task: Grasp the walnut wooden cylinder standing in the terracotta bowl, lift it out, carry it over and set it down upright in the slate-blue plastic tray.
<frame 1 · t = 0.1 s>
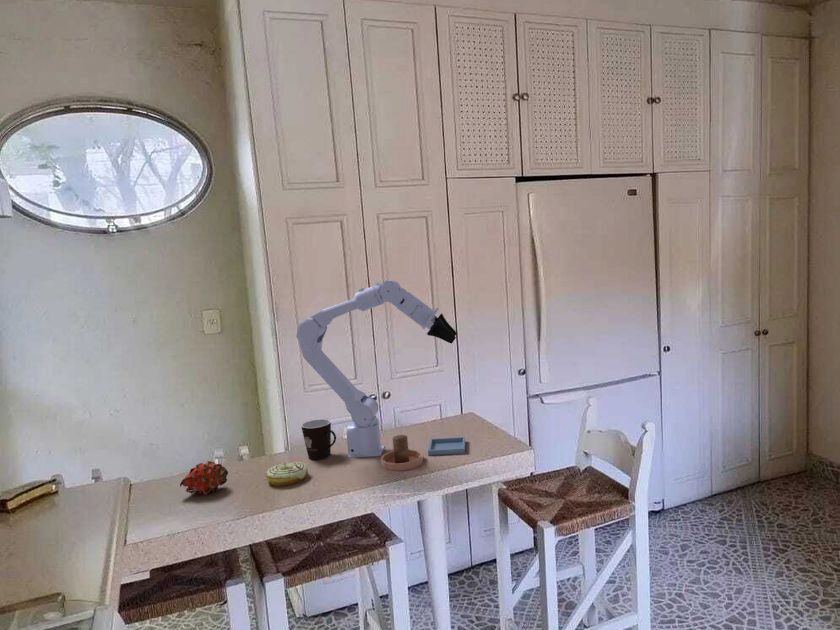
hand: (454, 338, 162), 32 cm above the bar counter, tool tilted 50°, fingers open, 7 cm apart
dragon fruit: (206, 493, 150), on the bar counter
terracotta bowl: (402, 463, 158), on the bar counter
decorated donut: (288, 480, 154), on the bar counter
coffee mug: (321, 458, 168), on the bar counter
slate tray: (447, 449, 165), on the bar counter
walnut cylinder: (402, 462, 158), resting on terracotta bowl
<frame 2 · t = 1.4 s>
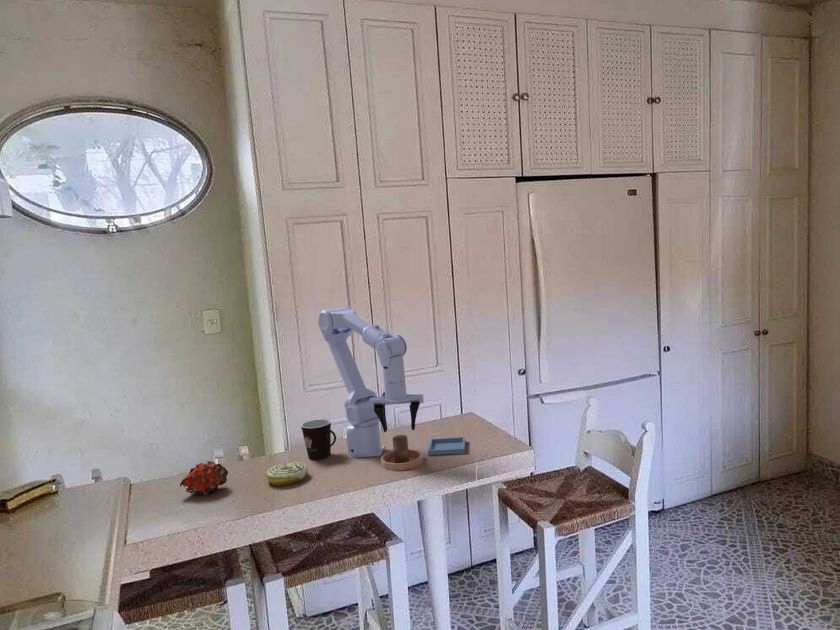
hand: (399, 429, 157), 9 cm above the bar counter, tool pointing down, fingers open, 7 cm apart
nothing on the bar counter moved.
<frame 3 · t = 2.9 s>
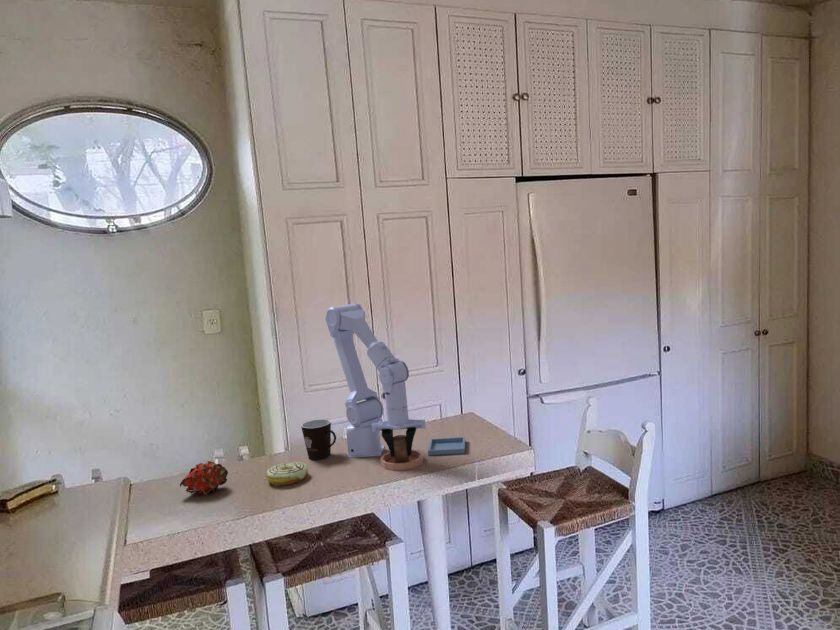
hand: (401, 455, 157), 2 cm above the bar counter, tool pointing down, fingers closed on walnut cylinder, 4 cm apart
walnut cylinder: (402, 462, 158), resting on terracotta bowl, touching gripper
everything else where it was.
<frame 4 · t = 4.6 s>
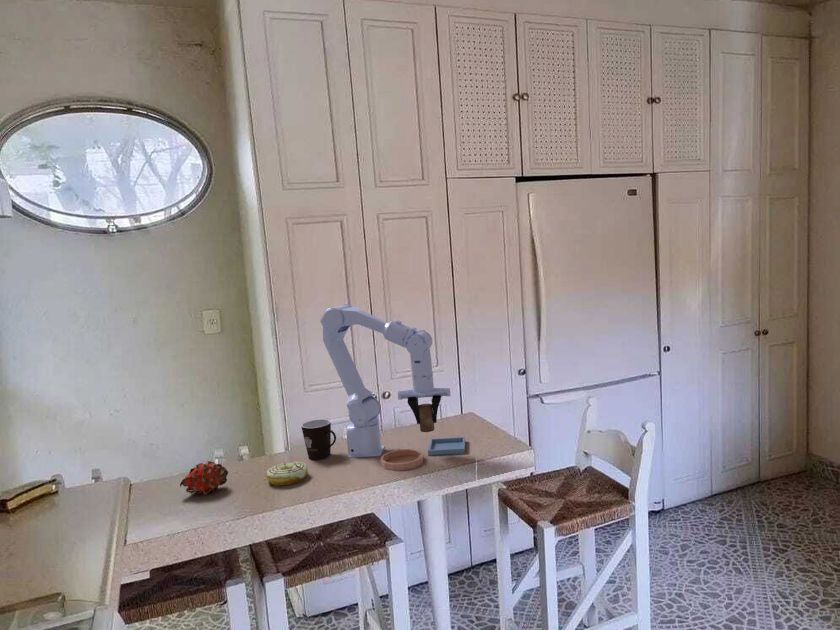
hand: (426, 422, 161), 9 cm above the bar counter, tool pointing down, fingers closed on walnut cylinder, 4 cm apart
walnut cylinder: (427, 429, 161), point 7 cm above the bar counter, touching gripper
everything else where it was.
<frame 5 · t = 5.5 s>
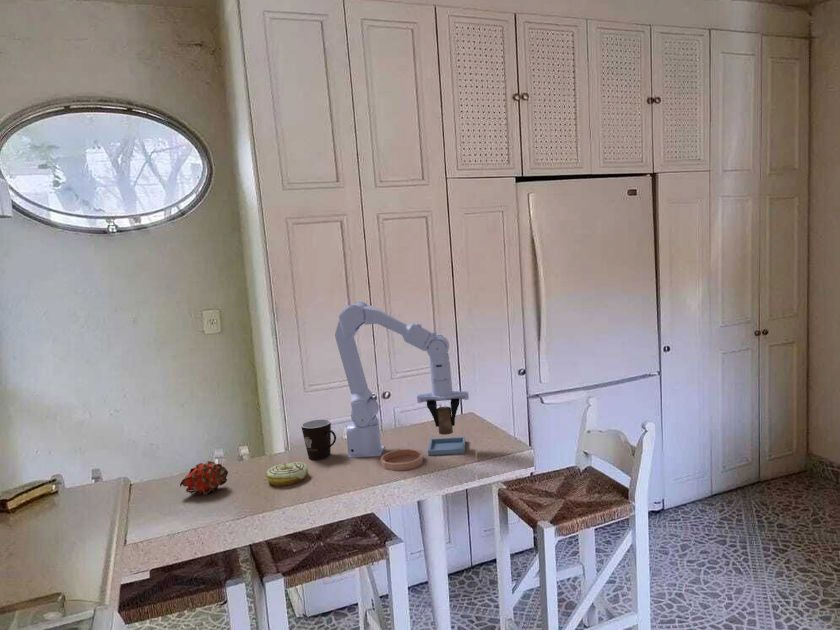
hand: (445, 425, 165), 7 cm above the bar counter, tool pointing down, fingers closed on walnut cylinder, 4 cm apart
walnut cylinder: (445, 432, 165), point 5 cm above the bar counter, touching gripper
everything else where it was.
when the fingers open (4 cm above the bar counter, at t = 6.5 s): walnut cylinder drops 1 cm, resting on slate tray.
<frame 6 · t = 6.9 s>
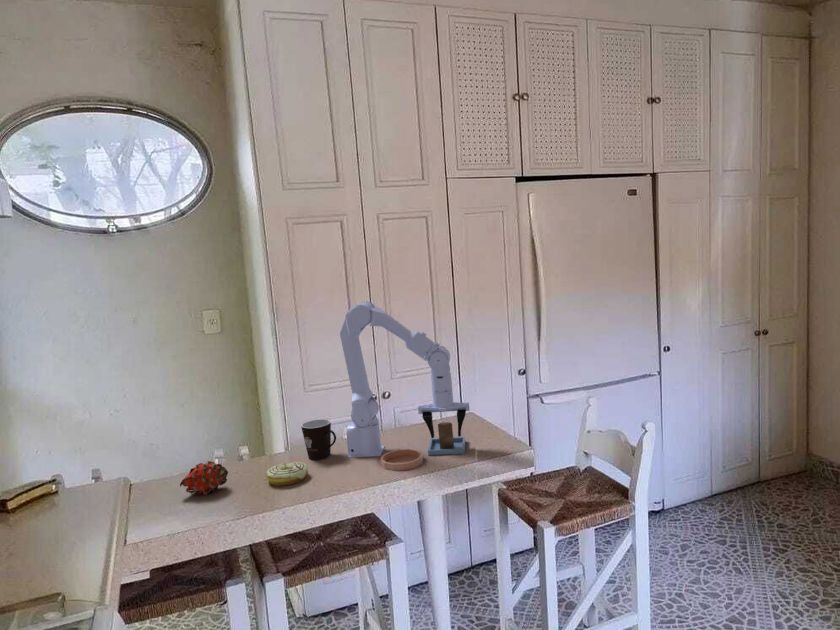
hand: (446, 436, 165), 4 cm above the bar counter, tool pointing down, fingers open, 7 cm apart
walnut cylinder: (447, 448, 165), point 1 cm above the bar counter, touching slate tray
everything else where it was.
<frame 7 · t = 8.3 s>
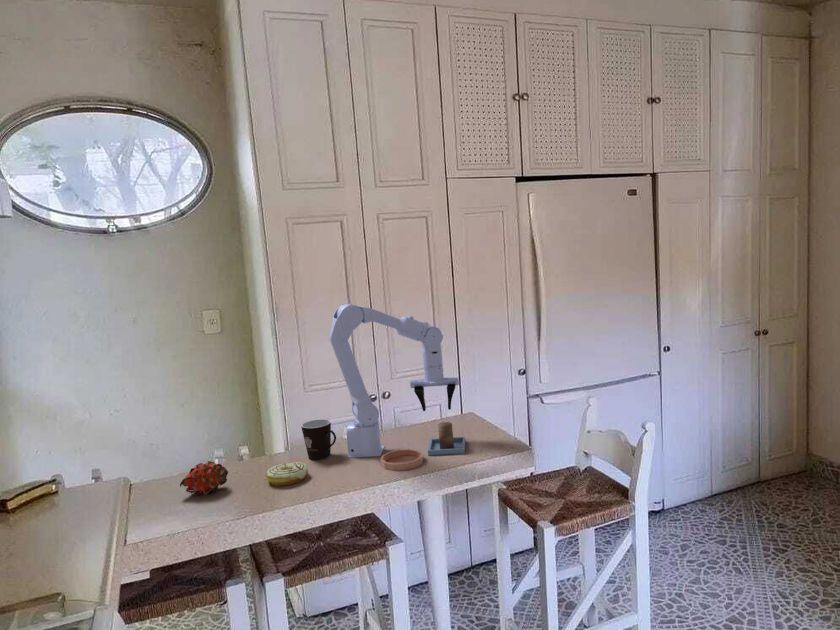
hand: (436, 409, 174), 9 cm above the bar counter, tool pointing down, fingers open, 7 cm apart
nothing on the bar counter moved.
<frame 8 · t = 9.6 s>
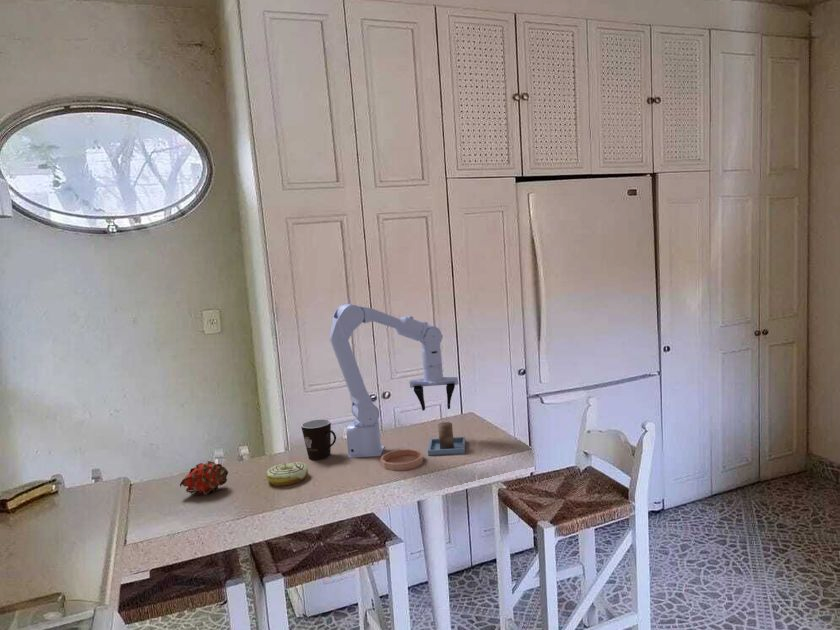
hand: (436, 408, 175), 9 cm above the bar counter, tool pointing down, fingers open, 7 cm apart
nothing on the bar counter moved.
at the end: walnut cylinder inside the target area on the slate tray (0.3 cm from its centre), point 0.6 cm above the slate tray's base; walnut cylinder tilted 0°; the gripper is holding nothing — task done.
